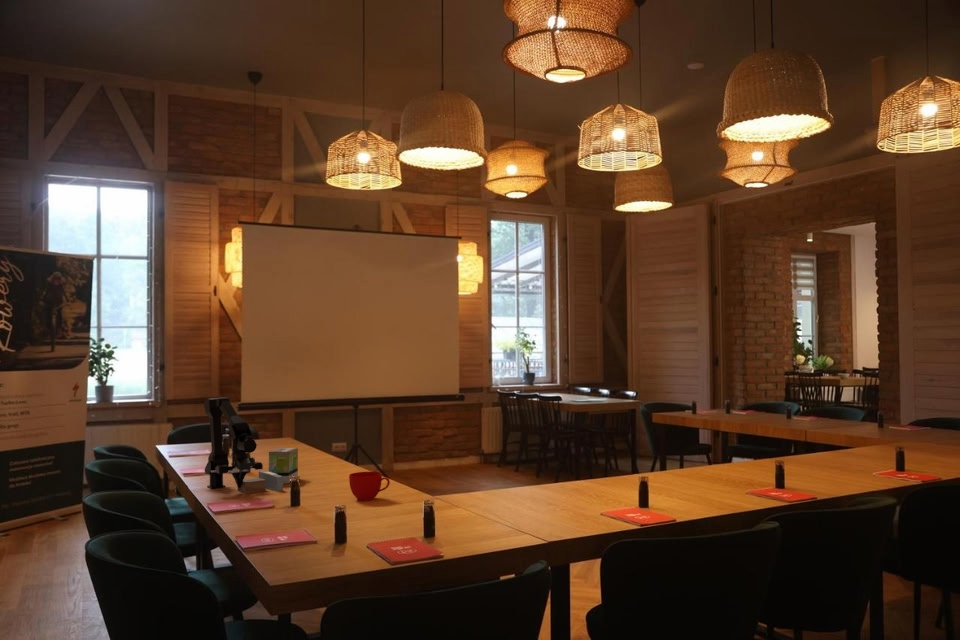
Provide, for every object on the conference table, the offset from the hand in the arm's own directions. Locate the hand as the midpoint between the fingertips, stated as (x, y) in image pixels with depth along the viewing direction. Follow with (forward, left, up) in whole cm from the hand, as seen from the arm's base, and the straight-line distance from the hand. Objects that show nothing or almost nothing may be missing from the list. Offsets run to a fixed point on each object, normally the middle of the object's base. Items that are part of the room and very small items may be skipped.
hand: (239, 487), depth 325 cm
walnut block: (-2, +6, -3) cm, 7 cm away
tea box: (-16, +26, -2) cm, 31 cm away
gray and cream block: (-3, +15, -2) cm, 15 cm away
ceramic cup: (+53, +34, -2) cm, 63 cm away
